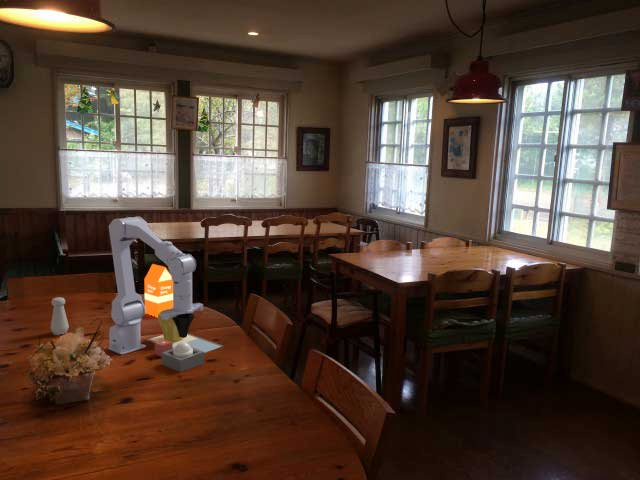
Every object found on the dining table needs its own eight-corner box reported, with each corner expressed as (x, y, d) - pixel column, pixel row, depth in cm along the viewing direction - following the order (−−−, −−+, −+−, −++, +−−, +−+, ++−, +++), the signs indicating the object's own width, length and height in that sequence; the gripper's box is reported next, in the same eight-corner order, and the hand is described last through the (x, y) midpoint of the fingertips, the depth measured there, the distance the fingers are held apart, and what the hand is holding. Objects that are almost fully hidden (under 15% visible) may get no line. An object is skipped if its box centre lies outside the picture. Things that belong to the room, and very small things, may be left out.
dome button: (181, 362, 163) (181, 347, 162) (169, 357, 166) (168, 342, 165) (197, 356, 168) (196, 342, 167) (184, 352, 171) (184, 337, 170)
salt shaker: (72, 331, 193) (70, 296, 191) (63, 336, 187) (61, 300, 185) (56, 330, 193) (55, 295, 191) (47, 335, 188) (45, 299, 185)
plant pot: (152, 341, 185) (151, 314, 183) (168, 332, 195) (168, 306, 193) (178, 345, 182) (178, 318, 181) (194, 336, 192) (193, 309, 190)
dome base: (180, 372, 161) (180, 360, 160) (161, 364, 166) (161, 352, 166) (204, 363, 168) (204, 351, 168) (185, 355, 174) (185, 344, 173)
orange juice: (158, 318, 211) (157, 268, 208) (144, 313, 216) (143, 265, 213) (174, 313, 217) (173, 265, 214) (160, 309, 222) (160, 262, 219)
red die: (162, 357, 172) (162, 345, 171) (154, 354, 174) (154, 342, 173) (172, 353, 175) (172, 342, 174) (164, 350, 177) (164, 339, 177)
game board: (191, 357, 172) (191, 357, 172) (146, 340, 186) (146, 339, 186) (223, 346, 184) (223, 345, 184) (178, 330, 198) (178, 330, 198)
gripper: (171, 301, 155) (172, 346, 158) (209, 292, 167) (209, 333, 169) (156, 297, 160) (157, 340, 162) (194, 288, 171) (194, 328, 173)
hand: (183, 336), depth 166 cm, fingers closed
